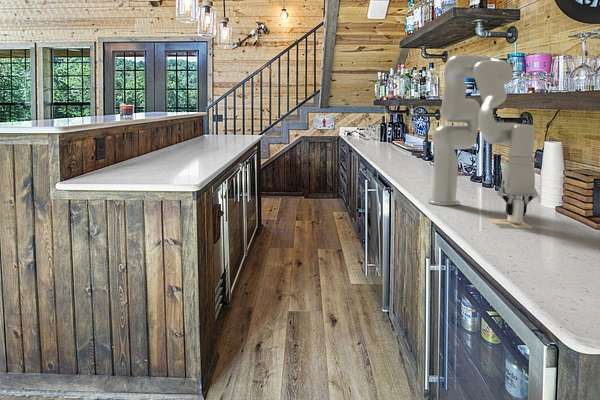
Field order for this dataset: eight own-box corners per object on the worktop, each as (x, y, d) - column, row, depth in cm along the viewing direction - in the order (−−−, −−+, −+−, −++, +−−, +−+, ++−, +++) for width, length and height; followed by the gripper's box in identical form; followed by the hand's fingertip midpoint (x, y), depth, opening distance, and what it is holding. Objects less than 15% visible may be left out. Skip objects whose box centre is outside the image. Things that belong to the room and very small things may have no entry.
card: (486, 219, 212) (486, 218, 212) (517, 220, 212) (517, 219, 212) (499, 227, 198) (500, 226, 198) (533, 228, 198) (533, 227, 198)
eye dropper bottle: (509, 223, 202) (512, 188, 200) (506, 220, 208) (509, 186, 206) (522, 224, 201) (526, 189, 200) (519, 221, 207) (523, 187, 205)
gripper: (540, 160, 205) (535, 213, 208) (492, 159, 205) (487, 212, 208) (549, 163, 197) (544, 217, 200) (499, 161, 197) (495, 216, 200)
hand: (515, 214), depth 204 cm, fingers closed on eye dropper bottle, 3 cm apart
